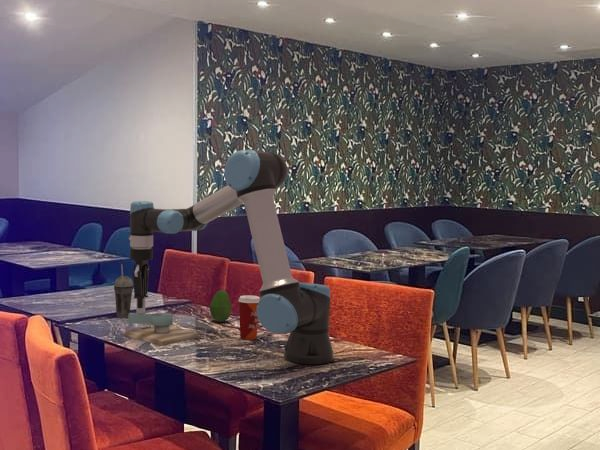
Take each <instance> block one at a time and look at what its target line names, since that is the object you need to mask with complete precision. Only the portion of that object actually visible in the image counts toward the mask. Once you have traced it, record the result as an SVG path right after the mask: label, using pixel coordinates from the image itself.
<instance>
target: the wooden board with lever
mask: <svg viewBox="0 0 600 450" xmlns="http://www.w3.org/2000/svg"><path fill="white" fill-rule="evenodd" d="M124 336H125V337H127V338H131V339H136V340H139V341H143V342H147V343H150V344H154V345H158V346H166V345H169V344H175V343H178V342H183V341H188V340H192V339H197V338H199V333H198V332H196V331H192V330H187V329H184V328H179V327H175V326H172V325H169V326H154V325H151V326H150V325H149V326H144V327H139V328H135V329H130V330H125V332H124Z"/></svg>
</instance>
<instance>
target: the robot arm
mask: <svg viewBox="0 0 600 450" xmlns="http://www.w3.org/2000/svg"><path fill="white" fill-rule="evenodd" d="M288 169H289V168H288V165H287V163H286V161H285V159H284V158H283V157H282V156H281V155H279V154H278V153H277V152H276V153H275V152H273V151H264V150H253V149H243V150H242V149H241V150H238V151H235V152H233V154H231V156H230V157H229V158H228V159H227V161H226V163H225V165H224V170H223V171H224V173H223V174H224V175H223V176H224V180H225V183H226V186H224V187H222V188H221V189H219V190H217V191H215V192H214V193H212V194H210V195H208V196H207V197H206V198H203V199H202V200H199V201H198V202H197V203H195V204H193V205H191V206H189V207H188V208H171V209H167V208H166V209H165V208H163V209H162V208H155V206H154V202H152V201H146V200H135V201H132V202H131V203H130V208H129V209H130V211H129V235H130V236H129V237H128V240H129V241H130V242H129V247H131V248H130V249H129V259H130V260H132V261H135V263H134V265H133V270H132V271H131V274H132V282H133V286H134V287H133V293H134V296H133V298H134V299H136V303H135V304H136V308H135V311H136V312H135V313H146V298H149V295H148V289H149V276H150V269H151V265H149V264H148V263H149V262H148V261H151V260H153V258H154V249H153V248H152V247H154V232H155V233H164V234H166V235H167V234H177V233H179V232H196V231H200V230H203V229H205V228H207V226H208V223H211V222H212V221H214V220H215V219H217V218H220V217H221V216H223V215H224V214H227V213H228V212H230V211H232V210H234V209H236V208H237V207H239V206H241V205H244V208H245V209H244V210H245V213H246V216H247V217H246V218H247V221H248V226H249V230H250V234H251V238H252V242H253V246H254V251H255V255H256V259H257V263H258V266H259V272H260V276H261V280H262V286H261V288H260V289H259V294H260V300H259V302H258V305H257V317H258V323H260V324H261V327H262V328H264V329H265V330H266V331H268V332H270V333H271V334H275V335H280V334H289V336H288V339H287V340H286V344H285V347H284V350H283V358H284V360H285V361H288V362H292V363H295V364H300V365H323V364H324V365H325V364H329V363H330V362H332V361H333V360H334V349H333V346H332V342H331V338H330V333H329V331H330V314H331V313H330V312H331V311H330V309H331V299H332V298H331V289H330V286H328V285H324V284H320V283H310V282H302V281H301V282H300V281H299V280H297V279H296V278H294V277H293V275H292V271H291V267H290V263H289V258H288V254H287V250H286V246H285V242H284V237H283V234H282V230H281V226H280V222H279V217H278V212H277V209H276V208H277V207H276V205H275V201H274V195H275V194H276V193H277V189H280V187H282V185H284V184H285V182H286V180H287V178H288V173H289V170H288Z"/></svg>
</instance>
